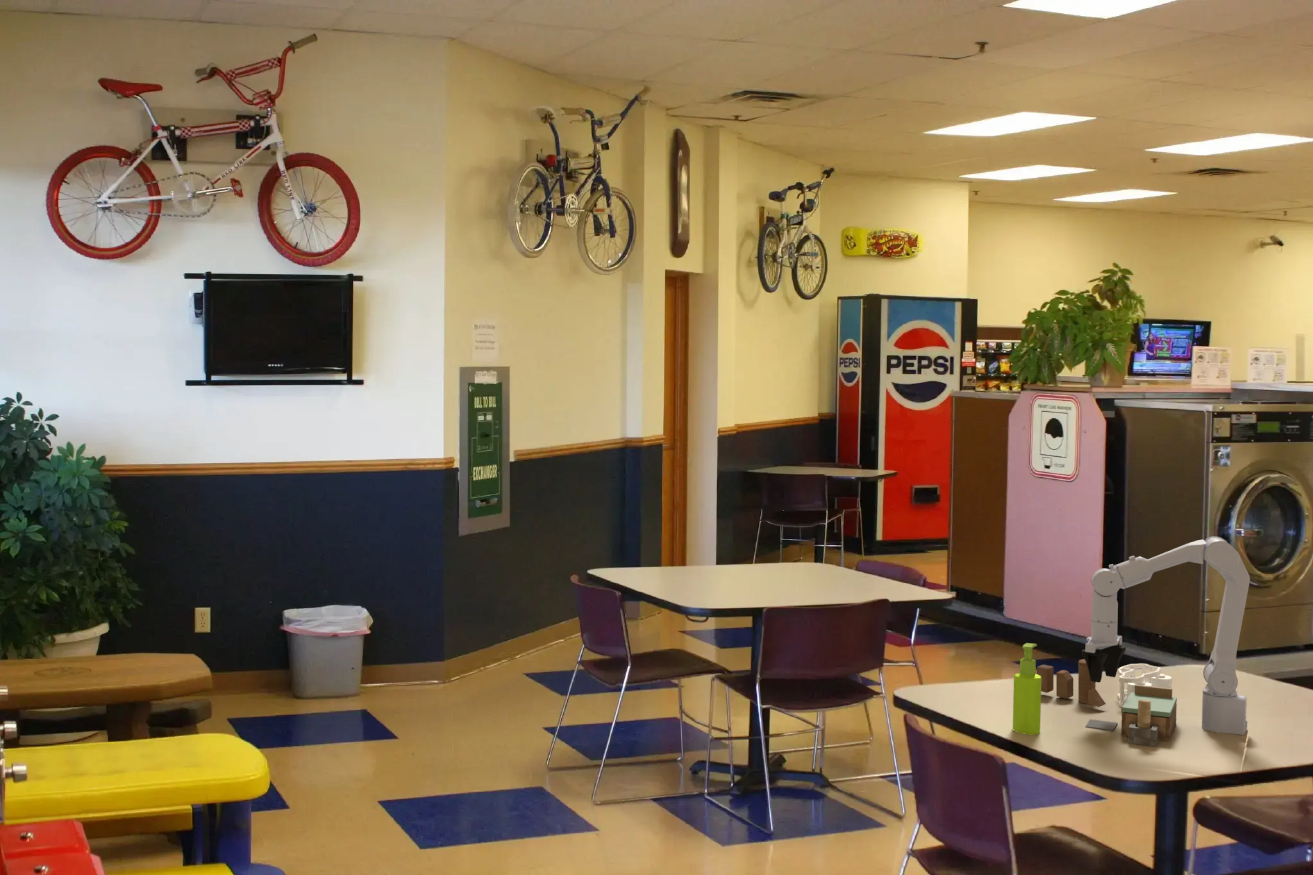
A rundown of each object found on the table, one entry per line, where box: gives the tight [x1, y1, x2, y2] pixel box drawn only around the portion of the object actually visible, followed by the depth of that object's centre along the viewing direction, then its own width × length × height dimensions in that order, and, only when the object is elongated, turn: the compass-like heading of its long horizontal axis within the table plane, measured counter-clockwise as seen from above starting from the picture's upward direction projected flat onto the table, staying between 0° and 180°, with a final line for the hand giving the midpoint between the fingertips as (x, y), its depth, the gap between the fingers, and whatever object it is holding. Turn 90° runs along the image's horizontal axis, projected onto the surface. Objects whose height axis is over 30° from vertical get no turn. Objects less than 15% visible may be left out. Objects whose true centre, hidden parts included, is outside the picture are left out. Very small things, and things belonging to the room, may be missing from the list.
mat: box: [1085, 719, 1118, 732], centre depth 301 cm, size 6×7×1 cm
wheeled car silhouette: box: [1116, 663, 1173, 708], centre depth 326 cm, size 20×11×7 cm, turn 135°
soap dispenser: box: [1012, 642, 1042, 736], centre depth 294 cm, size 6×7×20 cm
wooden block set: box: [1036, 658, 1107, 708], centre depth 323 cm, size 18×9×10 cm, turn 43°
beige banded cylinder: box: [1137, 700, 1151, 728], centre depth 288 cm, size 3×3×9 cm
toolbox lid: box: [1121, 685, 1178, 717], centre depth 298 cm, size 10×16×3 cm, turn 154°
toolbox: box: [1120, 702, 1178, 747], centre depth 296 cm, size 10×22×5 cm, turn 154°
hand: (1103, 679), depth 307 cm, fingers open, 7 cm apart
